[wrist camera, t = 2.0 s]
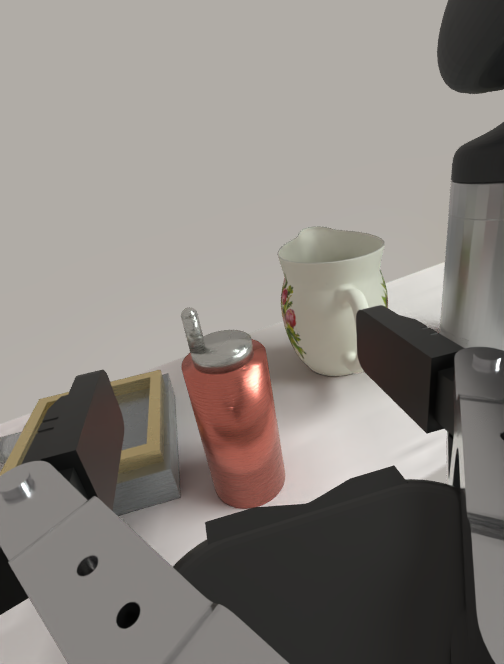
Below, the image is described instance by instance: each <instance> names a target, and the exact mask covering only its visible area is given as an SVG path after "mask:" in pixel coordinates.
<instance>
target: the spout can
mask: <svg viewBox="0 0 504 664" xmlns="http://www.w3.org/2000/svg"><path fill="white" fill-rule="evenodd" d="M181 318H182V321H183V325H184V329H185V333H186V337H187V341H188V345H189V349H190V353H189V354H188V355H187V356H186V357H185V359H184V360H183V362H182V372H183V375H184V379H185V382H186V386H187V390H188V393H189V397H190V400H191V404H192V408H193V411H194V415H195V418H196V422H197V426H198V429H199V433H200V436H201V440H202V443H203V447H204V451H205V454H206V458H207V461H208V465H209V469H210V472H211V476H212V479H213V483H214V487H215V490H216V493H217V495H218V496H219V498H220V499H221V500H222V501H223V502H225V503H226V504H228V505H230V506H232V507H236V508H243V509H245V508H254V507H258V506H261V505H263V504H265V503H267V502H269V501H270V500H272V499H273V498H274V497H275V496H276V495H277V494H278V493H279V492H280V490H281V489H282V487H283V484H284V481H285V470H284V464H283V457H282V451H281V445H280V438H279V432H278V425H277V419H276V413H275V406H274V400H273V394H272V387H271V381H270V375H269V368H268V362H267V356H266V350H265V347H264V346H263V345H262V344H261V343H260V342H258V341H256V340H253V339H251V337H250V335H249V334H247V333H245V332H243V331H238V330H224V331H218V332H214V333H211V334H208V335H206V336H204V337H203V335H202V331H201V327H200V322H199V318H198V314H197V312H196V310H195V309H193V308H190V307H189V308H185V309H184V310H183V311H182V314H181Z"/></svg>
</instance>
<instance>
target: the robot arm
mask: <svg viewBox="0 0 504 664" xmlns="http://www.w3.org/2000/svg"><path fill="white" fill-rule="evenodd" d="M437 57H438V66H439V70H440V73H441V76H442V78H443V80H444V82H445V83H446V84H447V85H448V86H449V87H450V88H451V89H453V90H455V91H457V92H460V93H469V94H479V93H486V92H492V91H498V90H503V89H504V0H448V3H447V6H446V9H445V12H444V16H443V20H442V24H441V28H440V33H439V39H438V49H437ZM451 180H452V181H451V189H450V202H449V203H450V204H449V217H448V230H447V243H446V256H445V268H444V281H443V294H442V307H441V319H440V332H439V333H438V334H437V332H436V331H434V330H433V329H431V328H427V326H426V325H424V324H422V323H421V322H419V321H417V320H415V319H411V318H408V317H404V316H401V315H400V316H399V315H398V314H396V313H395V312H393V311H391V310H390V309H388V308H386V307H385V306H383V305H379V306H374V307H370V308H366V309H362V310H359V311H358V312H357V314H356V334H357V356H358V360H359V363H360V366H361V368H362V369H363V371H364V372H365V373H366V374H367V375H368V376H369V377H370V378H371V379H372V380H373V381H374V382H375V383H376V384H377V385H378V386H379V387H380V388H381V389H382V390H383V391H384V392H385V393H386V394H387V395H388V396H389V397H390V398H391V399H392V400H393V401H394V402H395V403H396V404H397V405H398V406H399V407H401V408H402V409H403V410H404V411H405V412H406V413H407V414H408V415H409V416H410V417H411V418H412V419H413V420H414V421H415V422H416V423H417V424H418V425H419V426H420V427H421V428H422V429H423V430H424V431H425V432H426V433H430V432H434V431H437V430H441V429H445V430H447V441H446V455H447V484H444V483H440V482H435V481H428V480H415V479H408V480H405V479H404V478H403V476H402V475H401V474H400V472H399V471H398V470H397V469H396V467H395V466H391V467H387V468H384V469H381V470H377V471H374V472H371V473H367V474H364V475H361V476H357V477H354V478H351V479H349V480H347V481H345V482H344V483H342V484H340V485H339V486H337V487H335V488H334V489H332V490H330V491H329V492H327V493H325V494H323V495H322V496H320V497H318V498H317V499H315V500H313V501H311V502H309V503H306V504H297V505H283V506H269V507H254V508H251V509H247V510H244V511H241V512H237V513H234V514H231V515H227V516H224V517H221V518H217V519H214V520H211V521H207V522H205V525H206V533H207V540H205V541H204V542H202V543H200V544H199V545H197V546H196V547H195V548H193V549H192V550H191V551H189V552H188V553H187V554H186V555H185V556H183V557H182V558H181V559H180V560H179V561H178V562H177V563H176V564H175V565H174V566H173V567H172V566H171V565H170V564H169V563H168V562H167V561H166V560H164V559H163V558H162V557H161V556H160V555H159V554H158V553H157V552H156V551H155V550H154V549H153V548H152V547H151V546H149V545H148V544H147V543H146V542H145V541H144V540H143V539H142V538H141V537H140V536H139V535H138V534H137V533H135V532H134V531H133V530H132V529H131V528H130V527H129V526H128V525H127V524H126V523H125V522H124V521H123V520H121V519H120V518H119V517H118V516H117V515H116V514H115V513H114V512H113V504H114V498H115V491H116V484H117V478H118V471H119V465H120V458H121V451H122V445H123V438H124V421H123V416H122V413H121V410H120V407H119V404H118V402H117V399H116V396H115V394H114V391H113V388H112V386H111V383H110V381H109V378H108V375H107V373H106V372H105V371H104V370H100V371H95V372H91V373H87V374H83V375H78V376H76V378H75V380H74V382H73V385H72V387H71V389H70V391H69V394H68V395H65V396H61V397H60V398H59V399H58V400H57V401H56V402H55V403H54V404H53V405H52V406H51V407H50V408H49V409H48V410H47V412H46V414H45V416H44V419H43V421H42V422H43V423H41V425H40V427H39V429H38V431H37V432H38V434H36V435H35V437H34V439H33V441H32V443H31V445H30V447H29V449H28V451H27V453H26V455H25V457H24V460H23V462H22V464H21V465H19V466H17V467H15V468H13V469H11V470H9V471H7V472H5V473H4V474H2V475H1V476H0V615H1V614H3V613H4V612H6V611H8V610H9V609H11V608H13V607H14V606H16V605H18V604H19V603H21V602H23V601H24V600H26V599H28V598H29V599H30V600H31V602H32V604H33V605H34V607H35V609H36V610H37V612H38V614H39V615H40V617H41V619H42V620H43V622H44V624H45V626H46V627H47V629H48V631H49V632H50V634H51V636H52V637H53V639H54V641H55V642H56V644H57V646H58V647H59V649H60V651H61V652H62V654H63V656H64V658H65V659H66V661H67V663H68V664H504V122H503V123H502V124H500V125H499V126H497V127H496V128H494V129H493V130H491V131H489V132H487V133H486V134H484V135H482V136H480V137H478V138H476V139H474V140H472V141H470V142H468V143H466V144H464V145H463V146H461V147H460V148H459V149H458V150H457V151H456V153H455V155H454V158H453V163H452V176H451Z"/></svg>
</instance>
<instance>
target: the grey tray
mask: <svg viewBox="0 0 504 664" xmlns="http://www.w3.org/2000/svg"><path fill="white" fill-rule="evenodd" d="M110 383H111V386H112V388H113V391H114V394H115V396H116V399H117V402H118V404H119V407H120V410H121V413H122V416H123V421H124V438H123V445H122V451H121V458H120V465H119V471H118V478H117V484H116V491H115V498H114V504H113V512H114V513H115V514H116V515H117V516H118V515H122V514H125V513H128V512H132V511H135V510H139V509H142V508H146V507H149V506H152V505H156V504H159V503H163V502H166V501H170V500H173V499H176V498H180V481H179V462H178V444H177V425H176V406H175V395H174V391H173V388H172V385H171V381H170V378H169V375H168V374H164V375H162V373H161V370H157V371H153V372H149V373H145V374H141V375H137V376H132V377H128V378H125V379H120V380H117V381H112V382H110ZM68 394H69V392H67V393H63V394H59V395H55V396H51V397H47V398H43V399H39V401H38V403H37V405H36V407H35V409H34V410H33V412H32V414H31V416H30V418H29V420H28V422H27V423H26V425H25V427H24V429H23V431H22V432H20V433H16V434H12V435H8V436H4V437H0V463H5V465H4V467H3V469H2V471H1V472H0V476H1V475H2V474H4V473H5V472H7V471H9V470H11V469H13V468H15V467H17V466H19V465H21V464H22V462H23V460H24V457H25V455H26V453H27V451H28V449H29V447H30V445H31V443H32V441H33V439H34V437H35V435H36V434H38V432H37V431H38V429H39V427H40V425H41V423H43V422H42V421H43V419H44V416H45V414H46V412H47V410H48V409H49V408H50V407H51V406H52V405H53V404H54V403H55V402H56V401H57V400H58V399H59V398H60V397H61V396H65V395H68Z"/></svg>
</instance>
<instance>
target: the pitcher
mask: <svg viewBox="0 0 504 664" xmlns="http://www.w3.org/2000/svg"><path fill="white" fill-rule="evenodd" d="M383 250H384V241H383V240H382V239H381V238H379V237H377V236H374V235H371V234H367V233H361V232H354V231H343V230H335V229H331V228H327V227H309V228H305V229H303V230H302V231H300V233H299V234H298V236H297V237H296V238H294V239H293V240H291V241H289V242H288V243H286V244H285V245H283V246H282V247H281V248H280V249H279V251H278V257H279V261H280V264H281V267H282V270H283V273H284V277H285V278H284V283H283V287H282V294H281V310H282V317H283V321H284V326H285V329H286V332H287V335H288V337H289V340H290V342H291V344H292V346H293V348H294V349H295V351H296V353H297V355H298V356H299V357H300V358H301V360H302V361H303V362H304V363H305V364H306V365H308V366H309V368H310V369H311V370H313V371H314V372H316V373H319V374H322V375H327V376H344V375H349V374H353V373H362V372H364V371H363V369H362V368H361V366H360V363H359V360H358V356H357V334H356V314H357V312H358V311H359V310H362V309H366V308H370V307H374V306H379V305H383V306H385V307H386V308H388V296H387V289H386V285H385V281H384V278H383V276H382V273H381V270H380V265H381V259H382V254H383Z"/></svg>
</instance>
